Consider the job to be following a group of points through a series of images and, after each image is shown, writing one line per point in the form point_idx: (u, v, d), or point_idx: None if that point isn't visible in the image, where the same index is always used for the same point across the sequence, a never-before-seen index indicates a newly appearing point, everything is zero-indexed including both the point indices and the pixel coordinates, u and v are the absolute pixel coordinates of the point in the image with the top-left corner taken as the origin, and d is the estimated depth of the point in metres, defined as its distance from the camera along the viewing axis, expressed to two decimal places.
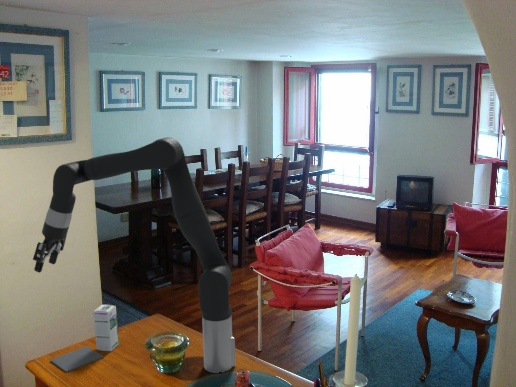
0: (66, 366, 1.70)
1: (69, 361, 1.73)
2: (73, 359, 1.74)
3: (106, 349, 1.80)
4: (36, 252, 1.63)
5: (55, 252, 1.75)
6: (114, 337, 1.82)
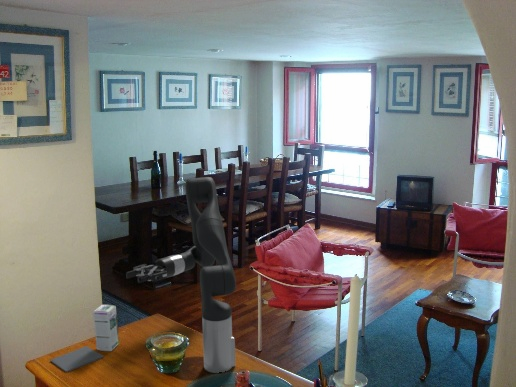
0: (66, 366, 1.70)
1: (69, 361, 1.73)
2: (73, 359, 1.74)
3: (106, 349, 1.80)
4: None
5: None
6: (114, 337, 1.82)
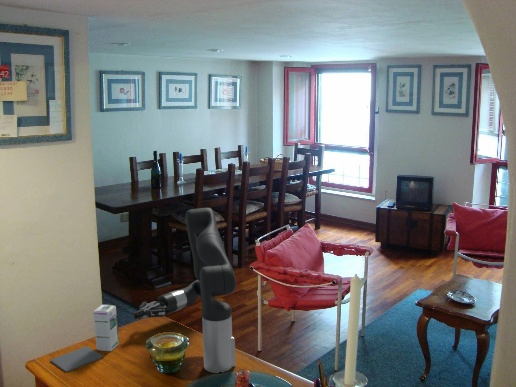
0: (66, 366, 1.70)
1: (69, 361, 1.73)
2: (73, 359, 1.74)
3: (106, 349, 1.80)
4: None
5: None
6: (114, 337, 1.82)
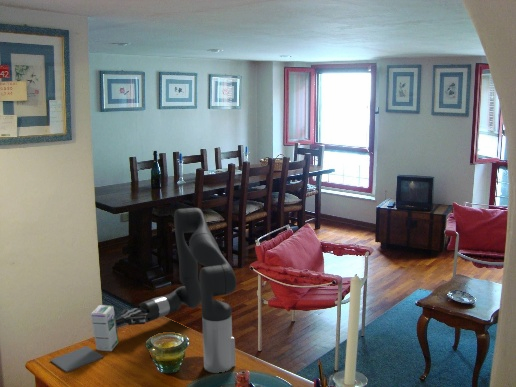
0: (66, 366, 1.70)
1: (69, 361, 1.73)
2: (73, 359, 1.74)
3: (106, 349, 1.80)
4: None
5: None
6: (114, 336, 1.81)
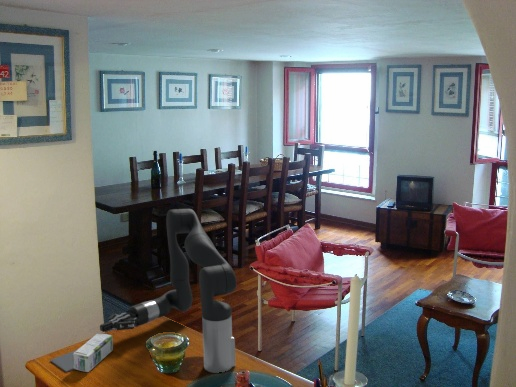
0: (66, 366, 1.70)
1: (69, 361, 1.73)
2: None
3: None
4: None
5: None
6: (106, 348, 1.75)
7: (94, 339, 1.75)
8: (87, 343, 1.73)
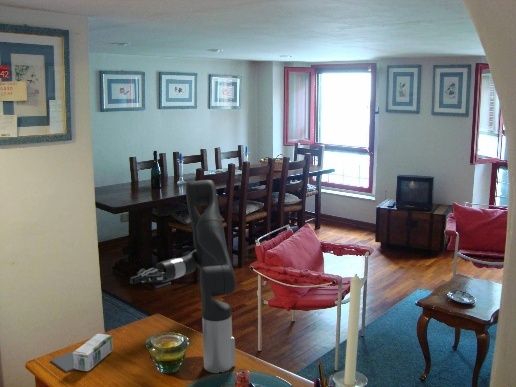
0: (66, 366, 1.70)
1: (69, 361, 1.73)
2: None
3: None
4: None
5: None
6: (106, 348, 1.76)
7: (93, 339, 1.75)
8: (86, 343, 1.73)
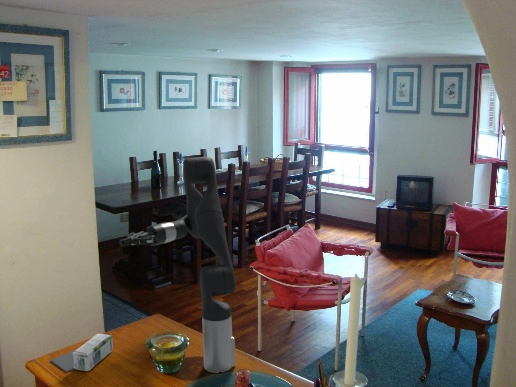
0: (66, 366, 1.70)
1: (69, 361, 1.73)
2: None
3: None
4: None
5: None
6: (106, 348, 1.76)
7: (93, 339, 1.75)
8: (86, 343, 1.73)
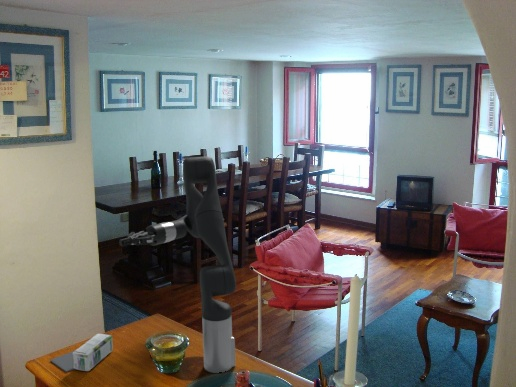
0: (66, 366, 1.70)
1: (69, 361, 1.73)
2: None
3: None
4: None
5: None
6: (106, 348, 1.76)
7: (93, 339, 1.75)
8: (86, 343, 1.73)
